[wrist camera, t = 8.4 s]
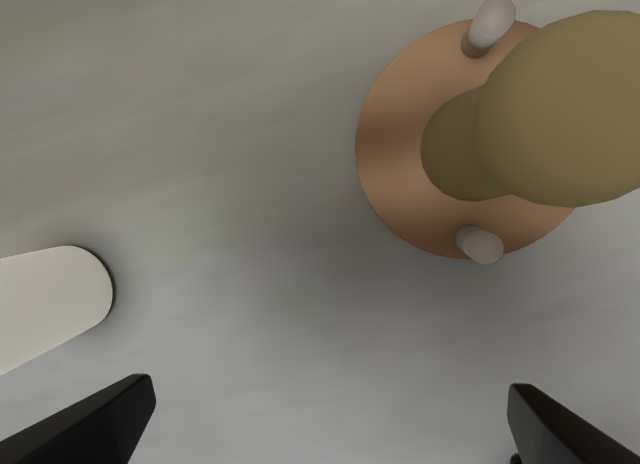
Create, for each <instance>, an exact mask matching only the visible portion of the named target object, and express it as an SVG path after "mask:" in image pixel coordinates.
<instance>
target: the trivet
mask: <svg viewBox="0 0 640 464" xmlns="http://www.w3.org/2000/svg"><path fill="white" fill-rule="evenodd" d="M515 15H516V11H515V7H514V4H513V3H512V2H511V1H510V0H487V1H486V2H484V3H483V5H482V6H481V7H480V9H479V11H478V12H477V14H476V15H475V17H474V19H470V20H464V21H459V22H456V23H453V24H449V25H446V26H443V27H441V28H439V29H436V30H434V31H432V32H430V33H428V34H426V35H424V36H423V37H421V38H419V39H418V40H416V41H414V42H413V43H412V44H410V45H409V46H408V47H406V48H405V49H404V50H403V51H401V52H400V53H399V54H398V55H397V56H396V57H395V58H394V59H393V60H392V61H391V62H390V63H389V64H388V65H387V67H386V68H385V69H384V70H383V72H382V73H381V74H380V76H379V77H378V78H377V80H376V82H375V83H374V85H373V87H372V88H371V90H370V92H369V94H368V96H367V98H366V101H365V103H364V105H363V108H362V111H361V115H360V118H359V122H358V128H357V133H356V148H355V151H356V164H357V169H358V174H359V179H360V182H361V184H362V187H363V190H364V193H365V195H366V197H367V199H368V201H369V203H370V204H371V206H372V208H373V209H374V210H375V212H376V213H377V215H378V216H379V217H380V219H381V220H382V221H383V222H384V223H385V224H386V225H387V226H388V227H389V228H390V229H391V230H392V231H393V232H395V233H396V234H397V235H398V236H399V237H401V238H402V239H404V240H406V241H407V242H409V243H410V244H412V245H414V246H416V247H418V248H420V249H422V250H425V251H428V252H431V253H434V254H437V255H441V256H446V257H451V258H462V259H473V260H474V261H475V262H477V263H479V264H482V265H489V264H493V263H495V262H497V261H498V260H499V259H500V258H501V256H502V255H503V254H506V253H509V252H512V251H516V250H518V249H520V248H522V247H525V246H527V245H529V244H531V243H533V242H535V241H536V240H538V239H540V238H541V237H543V236H545V235H546V234H547V233H549V232H550V231H551V230H553V229H554V228H555V227H557V226H558V225H559V224H560V223H561V222H562V221H563V220H564V219H565V218H566V217H567V216H568V215H569V214H570V213H571V212H572V211H573V209H574V208H569V207H559V206H549V205H540V204H535V203H532V202H529V201H527V200H525V199H522V198H520V197H518V196H515V195H513V194H511V195H506V196H502V197H497V198H492V199H487V200H482V201H477V202H473V201H463V200H457V199H455V198H453V197H450V196H448V195H446V194H443V193H442V192H441V191H440V190H439V189H438V188H437V187H436V186H434V185H433V184H432V183H431V182H430V180H429V178H428V176H427V174H426V173H425V171H424V169H423V166H422V160H421V155H420V148H421V140H422V134H423V132H424V130H425V128H426V126H427V124H428V121H429V119H430V118H431V117H432V116H433V115H434V113H435V112H436V111H437V110H438V109H439V108H440V107H441V106H442V105H443V104H444V103H446V102H448V101H449V100H451V99H453V98H454V97H456V96H458V95H460V94H462V93H464V92H467V91H469V90H471V89H474V88H476V87H478V86H481V85H483V84H485V83H486V81H487V79H488V77H489V75H490V73H491V72H492V71H493V70H494V69H495V67H496V66H497V65H498V64H499V63H500V62H501V61H502V60H503V59H504V58H505V57H506V55H507V54H508V53H509V52H510V51H511V50H512V49H513V48H514V47H515V46H516V45H517V44H518V43H519V42H520V41H522V40H524V39H525V38H527V37H529V36H530V35H532V34H533V33H535V32H537V31H538V30H540V28H538V27H535V26H533V25H530V24H528V23H524V22H519V21H515Z"/></svg>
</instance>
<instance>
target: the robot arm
mask: <svg viewBox="0 0 640 464" xmlns="http://www.w3.org/2000/svg"><path fill="white" fill-rule="evenodd" d="M155 406H156V397H155V393H154V388H153V384H152V380H151V377H150V376H149V375H148V374H132V375H130V376H128V377H126V378H124V379H122V380H120V381H118V382H116V383H114V384H112V385H110V386H108V387H106V388H104V389H102V390H100V391H98V392H96V393H94V394H93V395H91V396H89V397H87V398H85V399H83V400H81V401H79V402H77V403H75V404H73V405H71V406H69V407H67V408H65V409H63V410H61V411H59V412H57V413H55V414H53V415H51V416H49V417H48V418H46V419H44V420H42V421H40V422H38V423H36V424H34V425H32V426H30V427H28V428H26V429H24V430H22V431H20V432H18V433H16V434H14V435H12V436H10V437H8V438H6V439H4V440H3V441H1V442H0V464H128V462H129V460H130V458H131V456H132V454H133V452H134V450H135V448H136V446H137V444H138V442H139V440H140V438H141V436H142V434H143V432H144V430H145V428H146V426H147V424H148V422H149V420H150V418H151V416H152V414H153V412H154V409H155ZM507 418H508V423H509V426H510V429H511V432H512V435H513V438H514V441H515V443H516V446H517V449H518V452H519V455H520V456H516V457H514V458H513V459H512V460H511V464H640V457H639V456H638V455H636V454H635V453H633V452H632V451H630V450H629V449H627V448H626V447H624V446H623V445H621V444H620V443H618V442H617V441H615V440H614V439H612V438H611V437H609V436H608V435H606V434H605V433H603V432H602V431H600V430H599V429H597V428H596V427H594V426H593V425H591V424H590V423H588V422H587V421H585V420H584V419H582V418H581V417H579V416H578V415H576V414H575V413H573V412H572V411H570V410H569V409H567V408H566V407H564V406H563V405H561V404H560V403H558V402H557V401H555V400H554V399H552V398H551V397H549V396H548V395H546V394H545V393H543V392H542V391H540V390H539V389H537V388H536V387H534V386H533V385H531V384H523V383H513V384H511V385H510V387H509V395H508V407H507Z"/></svg>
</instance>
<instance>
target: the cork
mask: <svg viewBox="0 0 640 464" xmlns="http://www.w3.org/2000/svg"><path fill="white" fill-rule="evenodd" d="M420 155H421V160H422V166H423V169H424V171H425V173H426V174H427V176H428V178H429V180H430V182H431V183H432V184H433V185H434V186H436V187H437V188H438V189H439V190H440V191H441V192H442V193H443V194H446V195H448V196H450V197H453V198H455V199H457V200H463V201H473V202H477V201H482V200H487V199H492V198H497V197H502V196H506V195H511V194H513V195H515V196H518V197H520V198H522V199H525V200H527V201H529V202H532V203H535V204H540V205H549V206H559V207H569V208H575V207H580V206H585V205H591V204H596V203H601V202H606V201H610V200H613V199H617V198H619V197H621V196H623V195H625V194H627V193H629V192H631V191H633V190H635V189H637V188H639V187H640V15H639V14H636V13H633V12H629V11H604V10H593V11H590V12H586V13H583V14H579V15H575V16H572V17H568V18H565V19H561V20H558V21H556V22H553V23H550V24H548V25H546V26H545V27H543V28H541V29H540V30H538V31H537V32H535V33H533V34H532V35H530V36H529V37H527V38H525V39H524V40H522V41H520V42H519V43H518V44H517V45H516V46H515V47H514V48H513V49H512V50H511V51H510V52H509V53H508V54H507V55H506V57H505V58H504V59H503V60H502V61H501V62H500V63H499V64H498V65H497V66H496V67H495V69H494V70H493V71H492V72H491V73H490V75H489V77H488V79H487V81H486V83H485V84H483V85H481V86H478V87H476V88H474V89H471V90H469V91H467V92H464V93H462V94H460V95H458V96H456V97H454V98H453V99H451V100H449V101H448V102H446V103H444V104H443V105H442V106H441V107H440V108H439V109H438V110H437V111H436V112H435V113H434V115H433V116H432V117H431V118H430V119H429V121H428V124H427V126H426V128H425V130H424V132H423V134H422V140H421V148H420Z"/></svg>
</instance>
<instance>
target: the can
mask: <svg viewBox="0 0 640 464" xmlns="http://www.w3.org/2000/svg"><path fill="white" fill-rule="evenodd" d="M112 298H113V286H112V281H111V278H110V275H109V273H108V271H107V270H106V268H105V266H104V265H103V264H102V263H101V262H100V261H99V260H98V259H97V258H96V257H95V256H94V255H92V254H91V253H89V252H88V251H86V250H84V249H82V248H79V247H75V246H59V247H54V248H49V249H44V250H39V251H34V252H29V253H25V254H20V255H15V256H10V257H5V258H1V259H0V376H1V375H3V374H5V373H6V372H8V371H10V370H12V369H14V368H16V367H18V366H20V365H22V364H24V363H26V362H27V361H29V360H31V359H33V358H35V357H37V356H39V355H41V354H43V353H45V352H47V351H48V350H50V349H52V348H54V347H56V346H58V345H60V344H62V343H64V342H66V341H67V340H69V339H71V338H73V337H75V336H77V335H79V334H81V333H82V332H84V331H86V330H88V329H90V328H92V327H93V326H95V325H97V324H98V323H100V322H101V321H102V320H103V319H104V318H105V317H106V315H107V314H108V312H109V310H110V307H111V303H112Z"/></svg>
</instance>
